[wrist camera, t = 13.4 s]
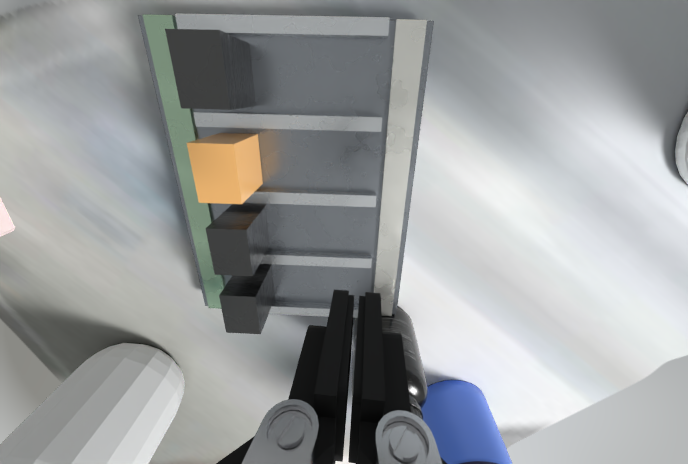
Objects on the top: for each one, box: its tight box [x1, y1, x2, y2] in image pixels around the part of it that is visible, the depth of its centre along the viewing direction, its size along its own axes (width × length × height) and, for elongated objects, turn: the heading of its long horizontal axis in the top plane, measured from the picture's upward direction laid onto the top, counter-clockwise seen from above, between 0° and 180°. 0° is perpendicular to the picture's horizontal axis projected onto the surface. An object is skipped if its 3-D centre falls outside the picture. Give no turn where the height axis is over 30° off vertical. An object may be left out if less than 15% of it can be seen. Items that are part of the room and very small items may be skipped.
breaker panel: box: [138, 13, 434, 334], centre depth 24 cm, size 20×25×7 cm
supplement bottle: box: [352, 307, 428, 420], centre depth 28 cm, size 7×7×12 cm
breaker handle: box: [187, 133, 263, 204], centre depth 21 cm, size 3×4×5 cm
